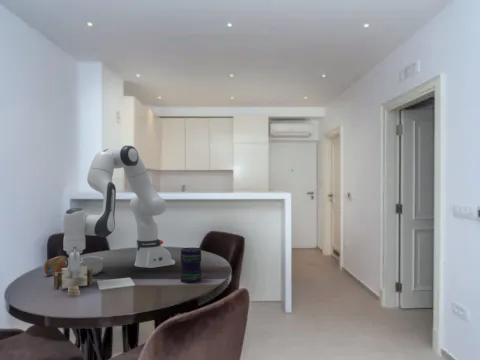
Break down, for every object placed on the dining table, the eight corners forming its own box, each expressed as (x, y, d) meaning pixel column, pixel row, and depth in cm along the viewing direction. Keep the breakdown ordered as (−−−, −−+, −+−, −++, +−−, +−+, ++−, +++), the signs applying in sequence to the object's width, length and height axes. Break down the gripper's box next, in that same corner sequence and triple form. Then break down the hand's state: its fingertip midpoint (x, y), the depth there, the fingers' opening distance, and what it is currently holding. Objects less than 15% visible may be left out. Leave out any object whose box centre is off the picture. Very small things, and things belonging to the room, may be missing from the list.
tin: (48, 277, 178) (48, 260, 178) (43, 277, 179) (43, 260, 179) (68, 270, 193) (68, 254, 193) (63, 269, 194) (63, 254, 194)
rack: (92, 281, 171) (92, 268, 171) (93, 285, 165) (93, 272, 165) (54, 285, 164) (54, 272, 164) (53, 290, 158) (53, 276, 158)
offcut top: (77, 288, 154) (77, 285, 154) (78, 290, 152) (78, 287, 152) (68, 289, 152) (68, 286, 152) (69, 291, 150) (69, 288, 150)
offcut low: (79, 293, 155) (79, 290, 155) (80, 296, 151) (80, 293, 151) (68, 295, 153) (68, 292, 153) (68, 297, 149) (68, 294, 149)
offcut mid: (78, 291, 154) (78, 288, 154) (79, 293, 152) (79, 290, 152) (68, 292, 152) (68, 289, 152) (68, 294, 150) (68, 291, 150)
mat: (130, 278, 177) (130, 277, 177) (135, 285, 164) (135, 284, 164) (97, 281, 171) (97, 281, 171) (99, 290, 158) (99, 289, 158)
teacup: (95, 270, 193) (95, 255, 193) (107, 273, 187) (107, 257, 187) (70, 275, 182) (70, 259, 182) (82, 279, 176) (82, 262, 176)
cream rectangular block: (86, 283, 163) (86, 265, 163) (87, 285, 161) (87, 267, 161) (62, 286, 159) (61, 268, 159) (61, 288, 157) (61, 269, 157)
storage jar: (181, 278, 178) (181, 247, 178) (201, 277, 179) (201, 247, 179) (179, 283, 168) (179, 251, 168) (201, 283, 169) (201, 251, 169)
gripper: (83, 248, 152) (83, 282, 152) (81, 241, 170) (81, 270, 170) (66, 250, 149) (66, 283, 149) (66, 242, 168) (66, 272, 168)
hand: (74, 276), depth 160 cm, fingers closed on cream rectangular block, 2 cm apart
